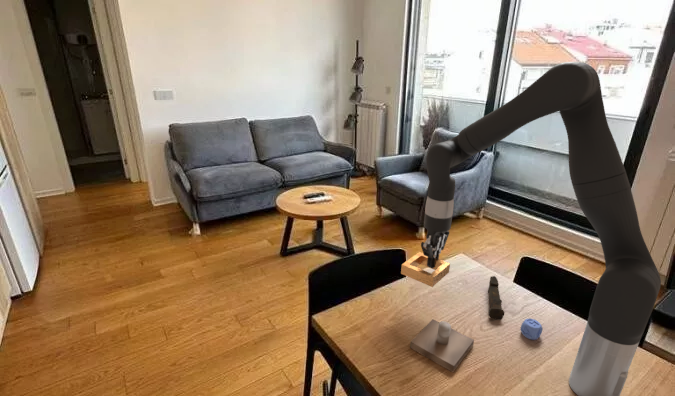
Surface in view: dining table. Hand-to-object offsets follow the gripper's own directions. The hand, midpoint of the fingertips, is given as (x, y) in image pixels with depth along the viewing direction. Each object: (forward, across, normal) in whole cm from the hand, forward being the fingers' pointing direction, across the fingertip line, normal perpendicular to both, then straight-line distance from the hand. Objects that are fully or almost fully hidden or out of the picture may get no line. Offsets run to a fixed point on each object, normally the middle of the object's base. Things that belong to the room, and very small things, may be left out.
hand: (432, 265), depth 109 cm
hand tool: (+14, +15, -14) cm, 25 cm away
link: (+1, -4, 0) cm, 4 cm away
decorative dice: (+14, +7, -28) cm, 32 cm away
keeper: (+13, -14, -12) cm, 23 cm away
